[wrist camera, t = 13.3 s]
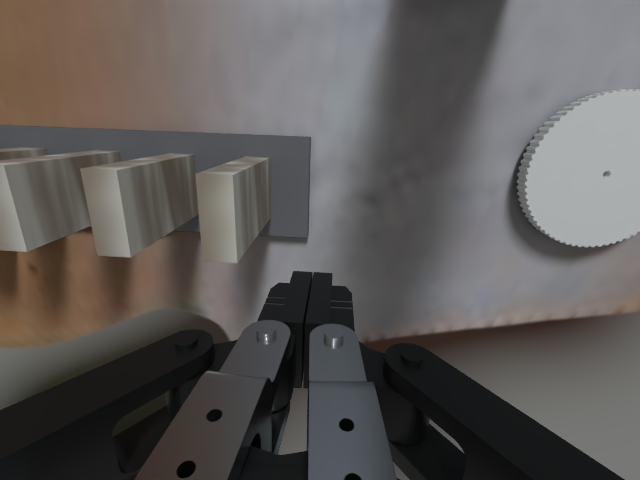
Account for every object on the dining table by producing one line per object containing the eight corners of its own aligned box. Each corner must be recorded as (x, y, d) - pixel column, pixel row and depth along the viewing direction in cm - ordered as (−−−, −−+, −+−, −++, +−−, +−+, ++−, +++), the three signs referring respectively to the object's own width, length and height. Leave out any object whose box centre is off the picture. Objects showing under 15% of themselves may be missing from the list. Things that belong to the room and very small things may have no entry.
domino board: (310, 137, 32) (309, 137, 31) (308, 234, 36) (307, 237, 35) (-154, 119, 34) (-170, 118, 33) (-116, 213, 38) (-129, 215, 37)
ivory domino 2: (194, 154, 33) (116, 170, 21) (199, 213, 35) (130, 257, 23) (170, 153, 33) (80, 168, 21) (176, 212, 35) (97, 255, 23)
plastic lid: (502, 240, 35) (514, 248, 33) (523, 96, 31) (538, 93, 28) (643, 237, 34) (667, 245, 32) (686, 87, 30) (717, 84, 27)
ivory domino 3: (270, 157, 32) (232, 175, 21) (271, 217, 34) (237, 263, 23) (245, 156, 32) (195, 173, 21) (248, 216, 34) (203, 261, 23)
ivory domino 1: (119, 151, 33) (3, 165, 22) (128, 210, 35) (27, 251, 24) (95, 150, 33) (-32, 163, 22) (106, 209, 35) (-6, 250, 24)
